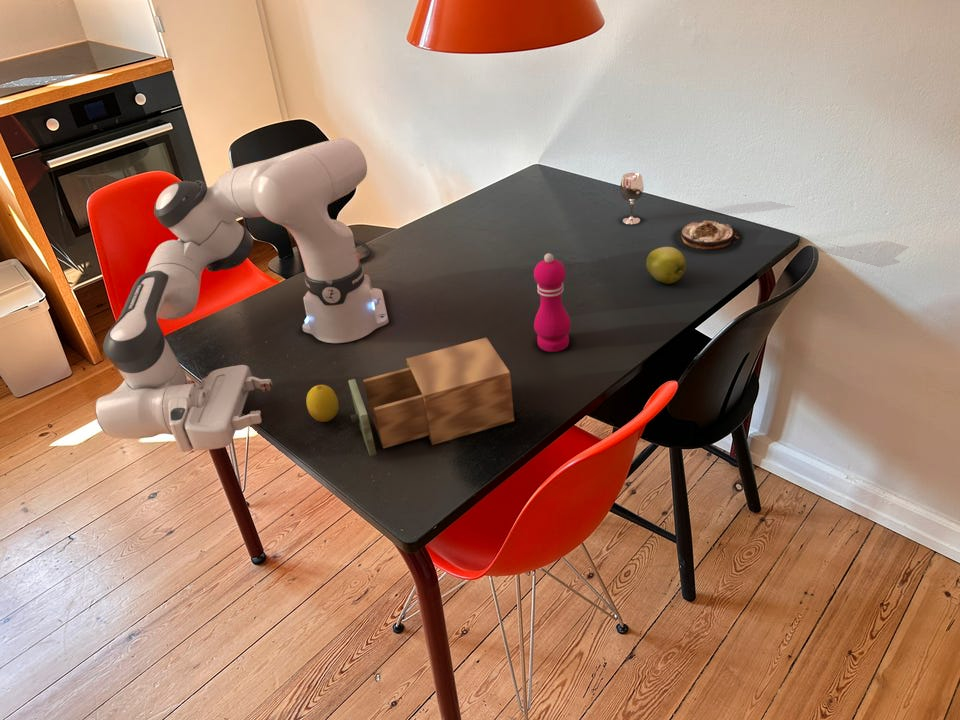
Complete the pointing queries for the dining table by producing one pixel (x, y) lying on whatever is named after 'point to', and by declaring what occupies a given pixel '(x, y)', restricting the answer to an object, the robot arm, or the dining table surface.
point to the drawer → (390, 409)
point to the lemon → (322, 403)
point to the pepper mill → (551, 306)
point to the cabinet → (463, 389)
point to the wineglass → (631, 192)
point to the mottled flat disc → (707, 235)
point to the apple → (666, 264)
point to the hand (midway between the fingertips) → (266, 400)
